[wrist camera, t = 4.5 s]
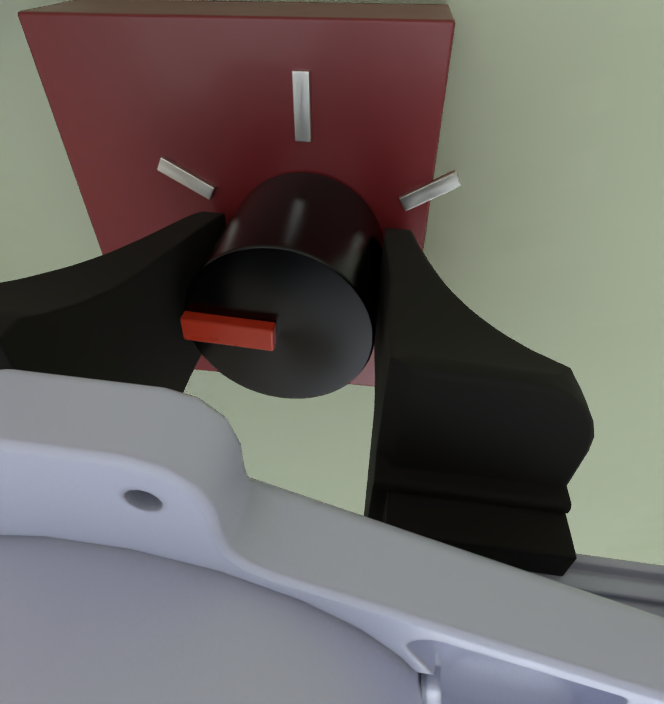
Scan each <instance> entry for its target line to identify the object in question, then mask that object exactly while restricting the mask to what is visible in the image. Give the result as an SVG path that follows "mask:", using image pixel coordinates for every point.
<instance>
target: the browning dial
mask: <svg viewBox="0 0 664 704" xmlns="http://www.w3.org/2000/svg"><path fill="white" fill-rule="evenodd" d="M383 244H384V242H383V236H382V231H381V228H380V225H379V223H378V220H377V218H376V217H375V215H374V213H373V211H372V210H371V208H370V207H369V206H368V204H367V203H366V202H365V201H364V200H363V199H362V198H361V197H360V196H359V195H358V194H357V193H356V192H354V191H353V190H352V189H351V188H349V187H347V186H346V185H344V184H343V183H341V182H339V181H337V180H334V179H332V178H329V177H326V176H323V175H319V174H314V173H304V172H296V173H287V174H282V175H278V176H275V177H273V178H270V179H268V180H266V181H264V182H262V183H261V184H259V185H258V186H256V187H255V188H254V189H253V190H251V192H250V193H249V194H248V195H247V196H246V197H245V198H244V200H243V201H242V203H241V204H240V206H239V207H238V209H237V211H236V212H235V214H234V215H233V217H232V218H231V220H230V221H229V223H228V224H227V226H226V228H225V229H224V231H223V232H222V234H221V235H220V237H219V238H218V240H217V242H216V243H215V245H214V246H213V248H212V249H211V251H210V252H209V254H208V256H207V257H206V259H205V260H204V262H203V263H202V265H201V266H200V268H199V270H198V271H197V273H196V274H195V276H194V277H193V279H192V280H191V283H190V285H189V287H188V290H187V294H186V298H185V312H184V313H183V315H182V316H181V318H180V321H181V327H182V332H183V337H184V339H186V340H193V342H194V343H195V345H196V347H197V348H198V350H199V351H200V352H201V354H202V355H203V356H204V358H205V359H206V360H207V361H208V362H209V363H210V364H211V365H212V366H213V367H214V368H215V369H217V370H218V371H219V372H220V373H222V374H223V375H224V376H226V377H227V378H229V379H230V380H232V381H234V382H235V383H237V384H239V385H241V386H243V387H245V388H248V389H250V390H253V391H256V392H258V393H262V394H265V395H269V396H275V397H280V398H312V397H317V396H322V395H325V394H328V393H331V392H334V391H336V390H338V389H340V388H342V387H344V386H345V385H347V384H349V383H350V382H351V381H352V380H354V379H355V378H356V377H357V376H358V375H359V374H360V373H361V372H362V370H363V369H364V368H365V366H366V365H367V363H368V362H369V359H370V357H371V355H372V352H373V348H374V344H375V334H376V324H377V315H378V305H379V294H380V271H381V262H382V253H383Z"/></svg>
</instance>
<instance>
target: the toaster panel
mask: <svg viewBox="0 0 664 704" xmlns="http://www.w3.org/2000/svg"><path fill="white" fill-rule="evenodd" d="M18 17H19V20H20V22H21V25H22V28H23V31H24V34H25V36H26V39H27V42H28V45H29V48H30V51H31V53H32V56H33V59H34V62H35V65H36V68H37V70H38V73H39V76H40V79H41V82H42V84H43V87H44V90H45V93H46V96H47V99H48V101H49V104H50V107H51V110H52V113H53V116H54V118H55V121H56V124H57V127H58V130H59V132H60V135H61V138H62V141H63V144H64V147H65V149H66V152H67V155H68V158H69V161H70V164H71V166H72V169H73V172H74V175H75V178H76V180H77V183H78V186H79V189H80V192H81V195H82V197H83V200H84V203H85V206H86V209H87V212H88V214H89V217H90V220H91V223H92V226H93V228H94V231H95V234H96V237H97V240H98V243H99V245H100V248H101V251H102V254H103V255H104V254H107V253H109V252H112V251H114V250H116V249H119V248H121V247H123V246H126V245H128V244H130V243H132V242H135V241H137V240H139V239H142V238H144V237H146V236H148V235H150V234H152V233H154V232H156V231H158V230H160V229H162V228H164V227H166V226H168V225H170V224H173V223H175V222H177V221H179V220H181V219H183V218H185V217H187V216H190V215H192V214H195V213H198V212H201V211H204V212H215V213H225V218H226V226H227V224H228V223H229V221H230V220H231V218H232V217H233V215H234V214H235V212H236V211H237V209H238V207H239V206H240V204H241V203H242V201H243V200H244V198H245V197H246V196H247V195H248V194H249V193H250V192H251V190H253V189H254V188H255V187H256V186H258V185H259V184H261V183H262V182H264V181H266V180H268V179H270V178H273V177H275V176H278V175H282V174H287V173H296V172H304V173H314V174H319V175H323V176H326V177H329V178H332V179H334V180H337V181H339V182H341V183H343V184H344V185H346V186H347V187H349V188H351V189H352V190H353V191H354V192H356V193H357V194H358V195H359V196H360V197H361V198H362V199H363V200H364V201H365V202H366V203H367V204H368V206H369V207H370V208H371V210H372V211H373V213H374V215H375V217H376V218H377V220H378V223H379V225H380V228H381V231H382V236H383V242H384V235H385V228H395V229H406V230H411V232H412V233H413V234H414V236H415V238H416V240H417V242H418V244H419V246H420V248H421V250H422V251H423V248H424V241H425V234H426V227H427V220H428V213H429V205H430V200H431V199H433V198H436V197H438V196H440V195H442V194H444V193H446V192H449V191H451V190H453V189H455V188H457V187H460V186H461V182H460V179H459V177H458V174H457V172H456V170H454V171H452V172H449V173H447V174H445V175H443V176H441V177H439V178H437V179H435V180H433V177H434V170H435V163H436V156H437V149H438V142H439V135H440V128H441V121H442V114H443V106H444V99H445V92H446V85H447V78H448V71H449V64H450V57H451V50H452V43H453V36H454V29H455V20H454V18H453V16H452V13H451V11H450V9H449V6H448V5H442V4H380V3H318V2H256V1H194V0H73V1H68V2H63V3H58V4H53V5H48V6H43V7H38V8H33V9H28V10H23V11H20V12H18ZM194 369H196V370H207V371H217V372H219V371H218V370H217V369H215V368H214V367H213V366H212V365H211V364H210V363H209V362H208V361H207V360H206V359H205V358H204V356H203V355H201V357H200V359H199V361H198V362H197V364H196V366H195V368H194ZM349 384H355V385H366V386H375V362H374V348H373V352H372V355H371V357H370V359H369V362H368V363H367V365H366V366H365V368H364V369H363V370H362V372H361V373H360V374H359V375H358V376H357V377H356V378H355V379H354V380H352V381H351V382H350V383H349Z"/></svg>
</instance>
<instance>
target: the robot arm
mask: <svg viewBox="0 0 664 704" xmlns="http://www.w3.org/2000/svg"><path fill="white" fill-rule="evenodd" d="M225 228H226V218H225V213H215V212H204V211H201V212H198V213H195V214H192V215H190V216H187V217H185V218H183V219H181V220H179V221H177V222H175V223H173V224H170V225H168V226H166V227H164V228H162V229H160V230H158V231H156V232H154V233H152V234H150V235H148V236H146V237H144V238H142V239H139V240H137V241H135V242H132V243H130V244H128V245H126V246H123V247H121V248H119V249H116V250H114V251H112V252H109V253H107V254H104V255H102V256H99V257H96V258H94V259H91V260H88V261H85V262H82V263H79V264H76V265H73V266H69V267H66V268H62V269H58V270H54V271H51V272H47V273H43V274H39V275H35V276H31V277H27V278H22V279H18V280H12V281H7V282H2V283H0V704H664V566H662V565H654V564H647V563H640V562H633V561H626V560H618V559H611V558H604V557H597V556H590V555H582V554H576V553H575V549H574V545H573V541H572V537H571V533H570V529H569V526H568V522H567V518H566V514H565V513H568V512H569V511H570V509H571V501H570V497H569V493H568V489H567V484H568V483H569V481H570V480H571V478H572V476H573V475H574V473H575V472H576V470H577V468H578V467H579V465H580V464H581V462H582V460H583V459H584V457H585V456H586V454H587V452H588V451H589V448H590V446H591V443H592V441H593V438H594V425H593V419H592V417H591V414H590V411H589V408H588V405H587V402H586V400H585V398H584V395H583V393H582V390H581V388H580V386H579V384H578V382H577V380H576V379H575V377H574V375H573V372H572V370H571V368H569V367H567V366H565V365H563V364H560V363H558V362H556V361H554V360H552V359H550V358H547V357H545V356H543V355H541V354H539V353H537V352H534V351H532V350H530V349H529V348H527V347H525V346H523V345H522V344H520V343H518V342H516V341H515V340H513V339H511V338H509V337H508V336H506V335H505V334H503V333H502V332H500V331H498V330H497V329H495V328H494V327H493V326H491V325H490V324H489V323H487V322H486V321H485V320H483V319H482V318H480V317H479V316H478V315H477V314H475V313H474V312H473V311H472V310H471V309H469V308H468V307H467V306H466V305H465V304H464V303H463V302H462V301H461V300H460V299H459V298H458V297H457V296H456V295H455V294H454V293H453V292H452V291H451V290H450V289H449V288H448V287H447V286H446V284H445V283H444V282H443V281H442V280H441V278H440V277H439V276H438V274H437V273H436V271H435V270H434V268H433V267H432V266H431V264H430V263H429V261H428V260H427V258H426V256H425V255H424V253H423V251H422V250H421V248H420V246H419V244H418V242H417V240H416V238H415V236H414V234H413V233H412V232H411V230H406V229H395V228H385V235H384V244H383V253H382V262H381V271H380V294H379V305H378V315H377V324H376V334H375V344H374V362H375V406H374V419H373V429H372V439H371V450H370V460H369V470H368V480H367V490H366V500H365V511H364V516H362V515H359V514H356V513H353V512H350V511H347V510H344V509H341V508H338V507H335V506H333V505H330V504H327V503H324V502H321V501H318V500H315V499H312V498H309V497H306V496H303V495H300V494H297V493H294V492H291V491H288V490H285V489H282V488H279V487H276V486H273V485H270V484H267V483H264V482H262V481H259V480H256V479H253V478H249V477H248V476H247V473H246V471H245V468H244V463H243V456H242V450H241V444H240V442H239V440H238V438H237V436H236V434H235V433H234V431H233V429H232V427H231V425H230V423H229V422H228V420H227V419H226V418H225V417H224V416H223V415H222V414H220V413H219V412H218V411H216V410H215V409H213V408H212V407H211V406H209V405H208V404H206V403H205V402H204V401H202V400H201V399H199V398H198V397H195V396H191V395H188V394H185V393H183V392H184V389H185V387H186V385H187V383H188V380H189V378H190V376H191V374H192V372H193V370H194V368H195V366H196V364H197V362H198V361H199V359H200V357H201V355H202V354H201V352H200V351H199V350H198V348H197V347H196V345H195V343H194V342H193V340H186V339H184V337H183V332H182V327H181V321H180V318H181V316H182V315H183V313H184V312H185V298H186V294H187V290H188V287H189V285H190V283H191V280H192V279H193V277H194V276H195V274H196V273H197V271H198V270H199V268H200V266H201V265H202V263H203V262H204V260H205V259H206V257H207V256H208V254H209V252H210V251H211V249H212V248H213V246H214V245H215V243H216V242H217V240H218V238H219V237H220V235H221V234H222V232H223V231H224V229H225Z"/></svg>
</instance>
